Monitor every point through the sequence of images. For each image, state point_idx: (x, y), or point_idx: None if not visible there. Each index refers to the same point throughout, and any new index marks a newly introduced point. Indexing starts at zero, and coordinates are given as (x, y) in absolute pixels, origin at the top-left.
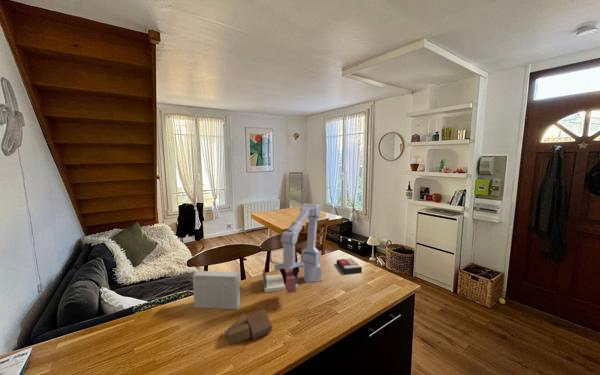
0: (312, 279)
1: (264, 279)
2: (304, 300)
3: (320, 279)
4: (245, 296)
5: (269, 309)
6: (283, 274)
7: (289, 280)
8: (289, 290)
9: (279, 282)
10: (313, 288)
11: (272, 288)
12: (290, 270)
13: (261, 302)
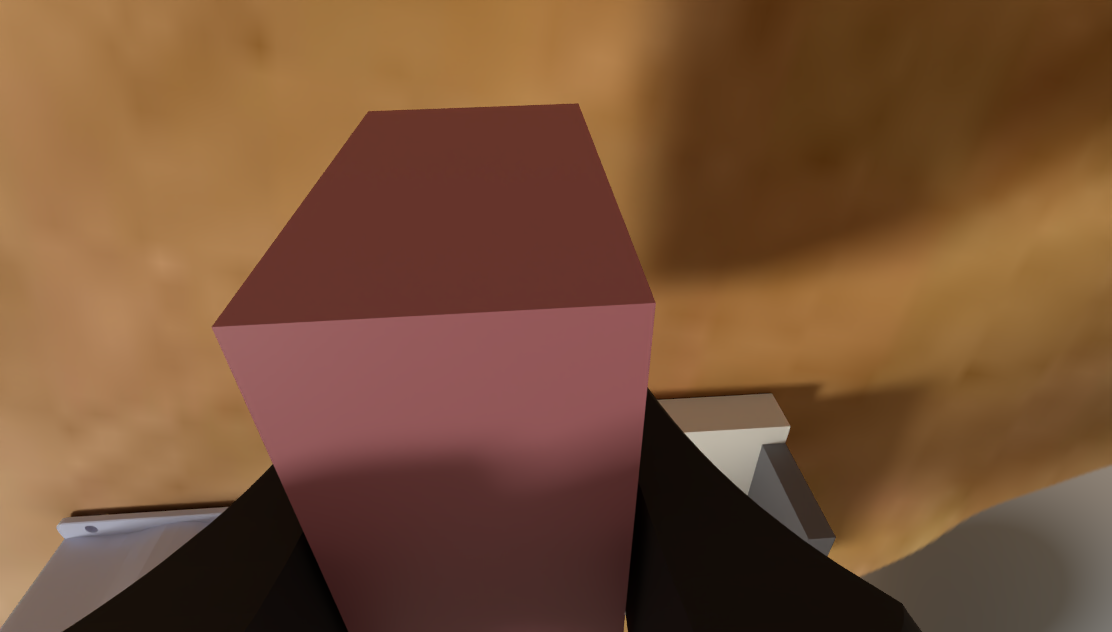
0: (169, 535)
1: (831, 543)
2: (264, 150)
3: (69, 532)
4: (999, 355)
5: (844, 15)
6: (763, 567)
7: (533, 263)
8: (524, 123)
9: None
10: (150, 396)
11: (693, 427)
12: None
13: (882, 213)
